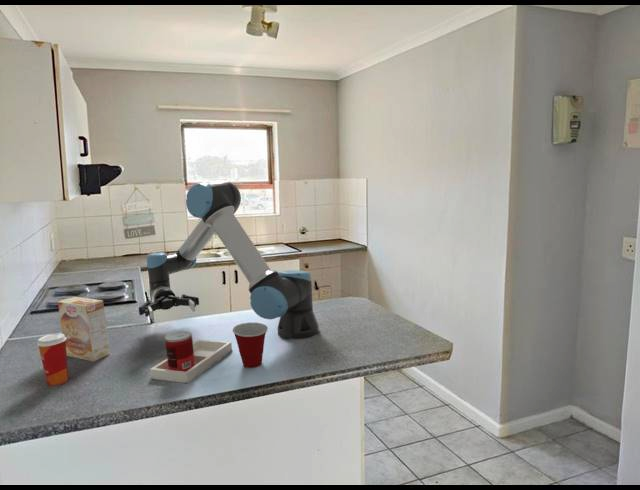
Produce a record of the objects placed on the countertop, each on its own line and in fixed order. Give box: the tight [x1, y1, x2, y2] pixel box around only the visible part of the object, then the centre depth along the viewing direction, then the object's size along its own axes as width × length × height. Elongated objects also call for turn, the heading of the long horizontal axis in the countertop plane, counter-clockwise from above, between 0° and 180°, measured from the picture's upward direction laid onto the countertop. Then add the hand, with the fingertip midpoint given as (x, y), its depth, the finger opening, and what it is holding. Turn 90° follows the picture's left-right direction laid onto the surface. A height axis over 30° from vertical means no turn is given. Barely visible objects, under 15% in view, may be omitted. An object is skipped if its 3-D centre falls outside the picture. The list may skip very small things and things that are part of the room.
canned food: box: [164, 330, 195, 372], centre depth 142 cm, size 8×8×11 cm
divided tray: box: [149, 338, 233, 384], centre depth 149 cm, size 25×13×3 cm, turn 160°
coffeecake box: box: [57, 296, 111, 362], centre depth 160 cm, size 15×7×20 cm, turn 62°
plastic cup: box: [232, 322, 269, 369], centre depth 145 cm, size 11×11×12 cm
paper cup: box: [36, 333, 69, 387], centre depth 140 cm, size 8×8×14 cm
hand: (173, 311), depth 156 cm, fingers open, 13 cm apart
